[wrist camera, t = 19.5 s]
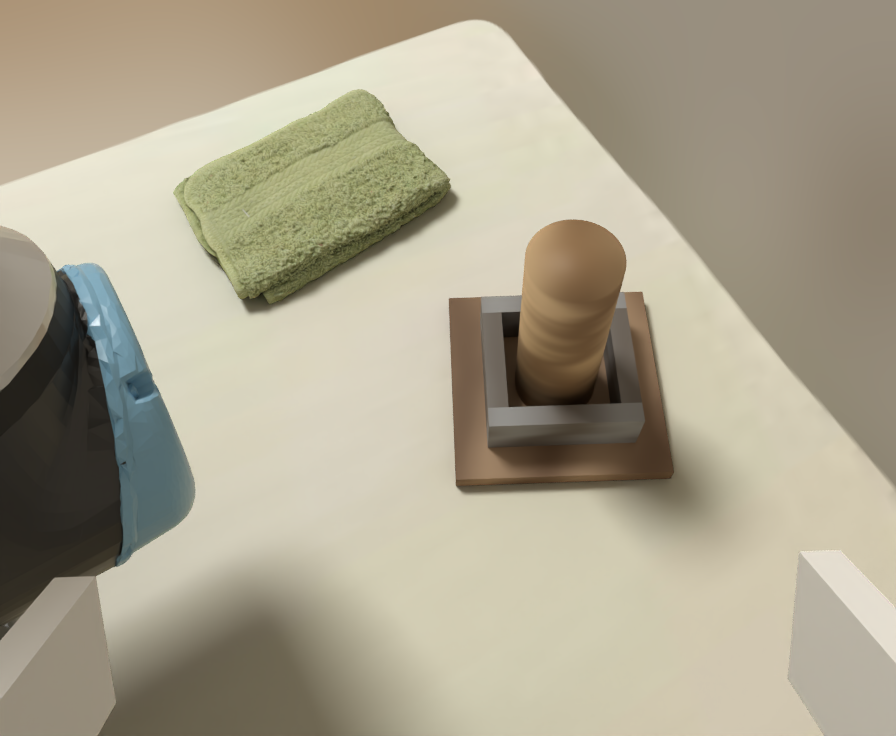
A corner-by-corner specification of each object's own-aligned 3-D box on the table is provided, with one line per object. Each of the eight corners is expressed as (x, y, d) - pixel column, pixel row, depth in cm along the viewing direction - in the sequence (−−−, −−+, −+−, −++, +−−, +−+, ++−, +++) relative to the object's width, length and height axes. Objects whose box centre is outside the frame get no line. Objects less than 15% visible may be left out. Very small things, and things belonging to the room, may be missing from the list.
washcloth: (168, 202, 63) (155, 172, 60) (368, 104, 67) (364, 72, 65) (252, 323, 57) (241, 297, 54) (462, 207, 62) (462, 177, 59)
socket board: (455, 485, 51) (455, 459, 47) (449, 306, 57) (448, 272, 54) (670, 478, 51) (685, 451, 47) (639, 300, 57) (651, 265, 54)
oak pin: (519, 420, 52) (531, 305, 40) (510, 350, 54) (519, 223, 43) (600, 414, 52) (634, 297, 40) (587, 344, 54) (617, 216, 43)
